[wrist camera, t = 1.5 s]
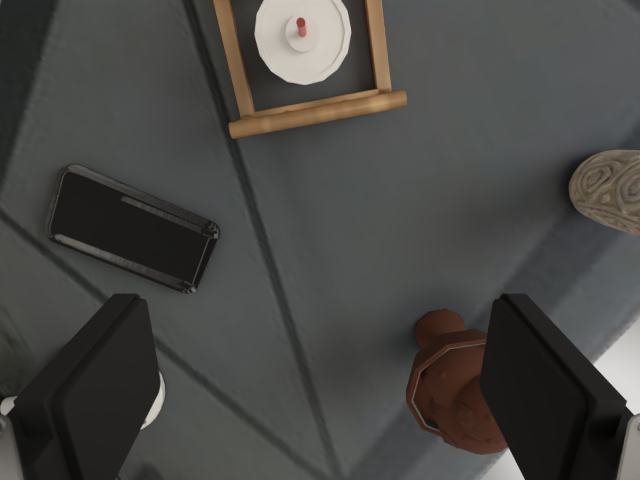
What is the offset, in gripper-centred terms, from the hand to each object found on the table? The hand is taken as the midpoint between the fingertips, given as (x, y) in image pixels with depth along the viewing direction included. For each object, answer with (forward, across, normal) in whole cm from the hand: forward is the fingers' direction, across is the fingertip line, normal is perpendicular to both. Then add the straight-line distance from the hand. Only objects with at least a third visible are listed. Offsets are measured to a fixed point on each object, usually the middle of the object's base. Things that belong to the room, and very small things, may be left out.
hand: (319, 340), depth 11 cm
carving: (+29, +26, -2) cm, 39 cm away
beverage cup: (+29, -1, +9) cm, 30 cm away
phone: (+28, -18, -7) cm, 34 cm away
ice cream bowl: (+29, +13, -19) cm, 37 cm away
